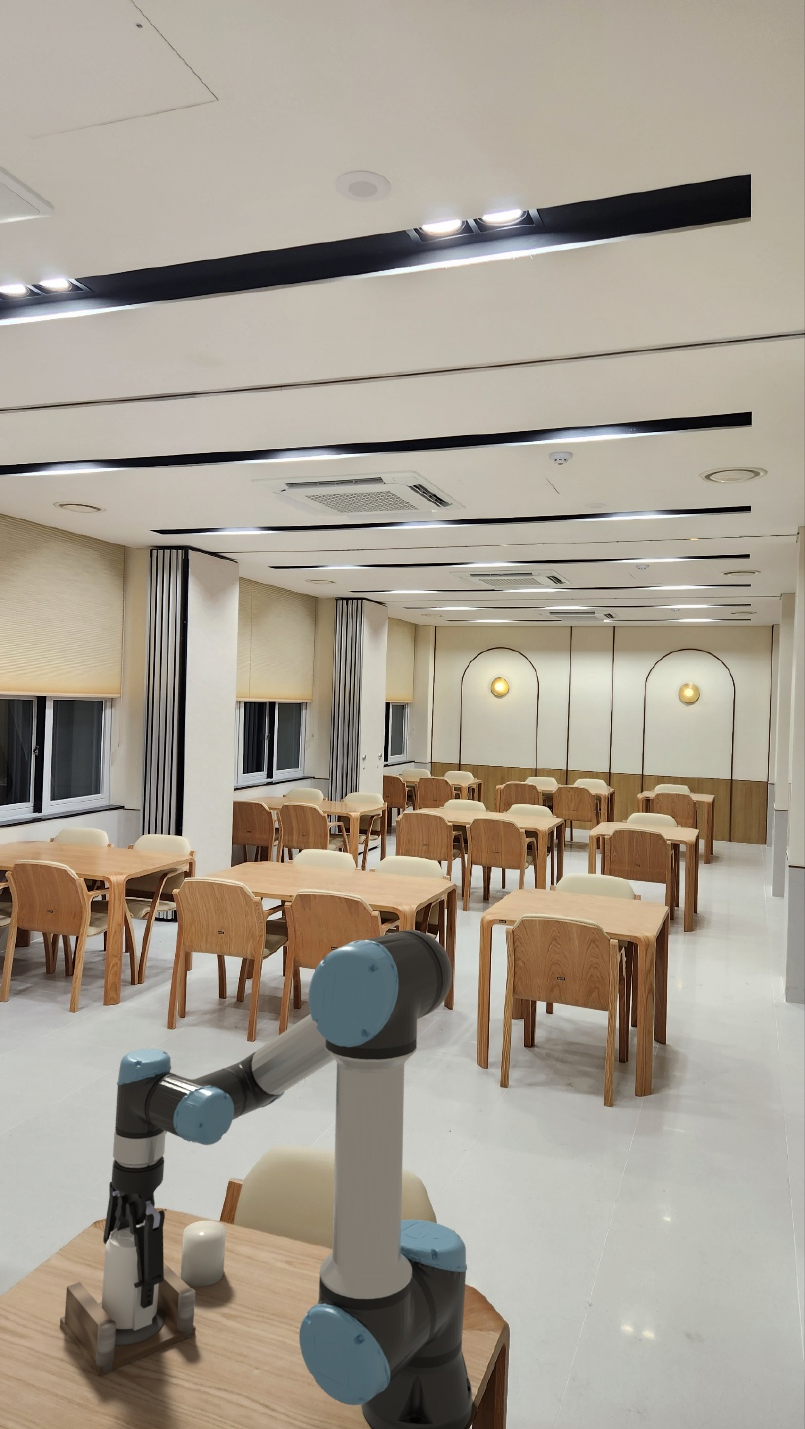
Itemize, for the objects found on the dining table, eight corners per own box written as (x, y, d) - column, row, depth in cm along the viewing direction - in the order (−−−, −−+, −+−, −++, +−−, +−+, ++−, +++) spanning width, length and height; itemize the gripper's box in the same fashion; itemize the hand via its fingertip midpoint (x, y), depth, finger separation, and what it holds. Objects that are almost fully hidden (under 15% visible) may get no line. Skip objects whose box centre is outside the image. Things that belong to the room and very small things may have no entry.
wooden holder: (195, 1334, 135) (198, 1293, 135) (99, 1376, 125) (102, 1332, 125) (152, 1288, 146) (154, 1251, 146) (59, 1324, 136) (62, 1283, 136)
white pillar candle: (231, 1276, 150) (234, 1233, 151) (193, 1291, 146) (196, 1247, 146) (209, 1257, 155) (212, 1216, 156) (173, 1271, 151) (175, 1228, 151)
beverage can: (140, 1337, 131) (145, 1253, 131) (89, 1327, 132) (95, 1244, 133) (166, 1304, 139) (171, 1225, 139) (118, 1295, 140) (123, 1217, 141)
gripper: (195, 1176, 131) (185, 1337, 130) (131, 1127, 147) (122, 1270, 146) (147, 1191, 126) (136, 1358, 125) (86, 1138, 142) (76, 1286, 141)
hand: (129, 1310), depth 135 cm, fingers closed on beverage can, 8 cm apart
